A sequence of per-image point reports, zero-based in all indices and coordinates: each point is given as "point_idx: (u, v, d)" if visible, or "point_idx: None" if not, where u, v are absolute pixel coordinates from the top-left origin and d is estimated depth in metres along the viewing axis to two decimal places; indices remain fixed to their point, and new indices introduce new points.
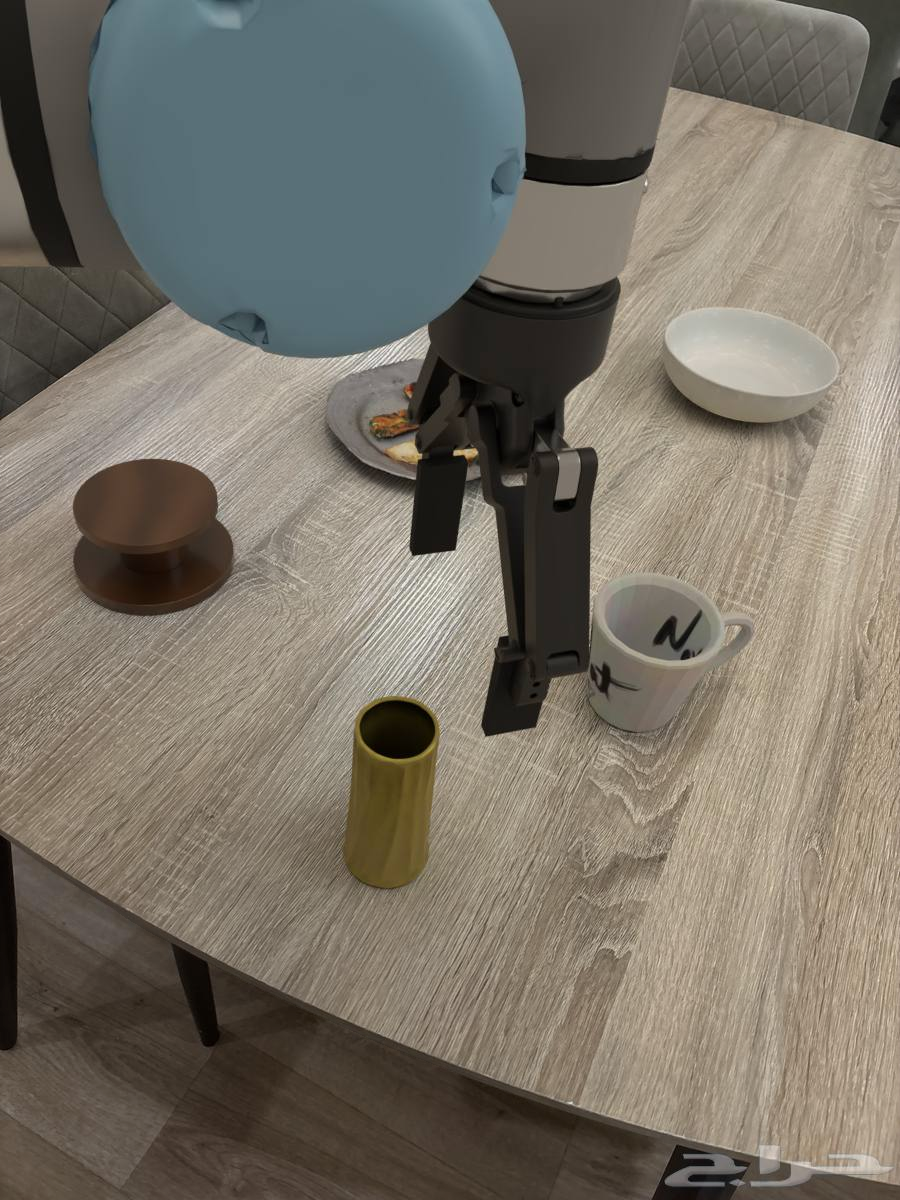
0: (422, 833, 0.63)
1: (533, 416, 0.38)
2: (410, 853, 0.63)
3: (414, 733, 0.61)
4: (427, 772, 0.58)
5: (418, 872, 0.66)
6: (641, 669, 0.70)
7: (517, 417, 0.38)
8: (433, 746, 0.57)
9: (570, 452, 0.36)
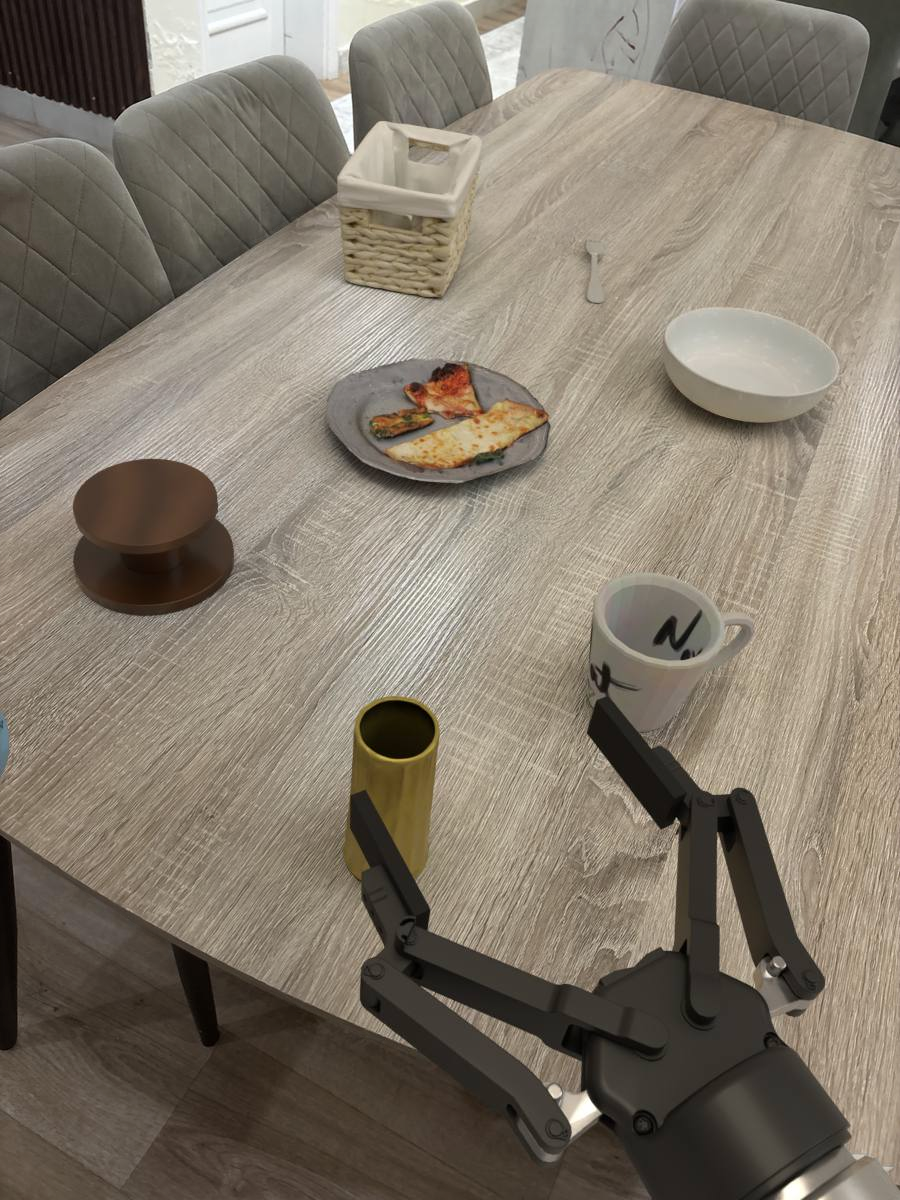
0: (422, 833, 0.63)
1: (616, 1120, 0.34)
2: (410, 853, 0.63)
3: (414, 733, 0.61)
4: (427, 772, 0.58)
5: (418, 872, 0.66)
6: (641, 669, 0.70)
7: (623, 1107, 0.34)
8: (433, 746, 0.57)
9: (557, 1158, 0.34)
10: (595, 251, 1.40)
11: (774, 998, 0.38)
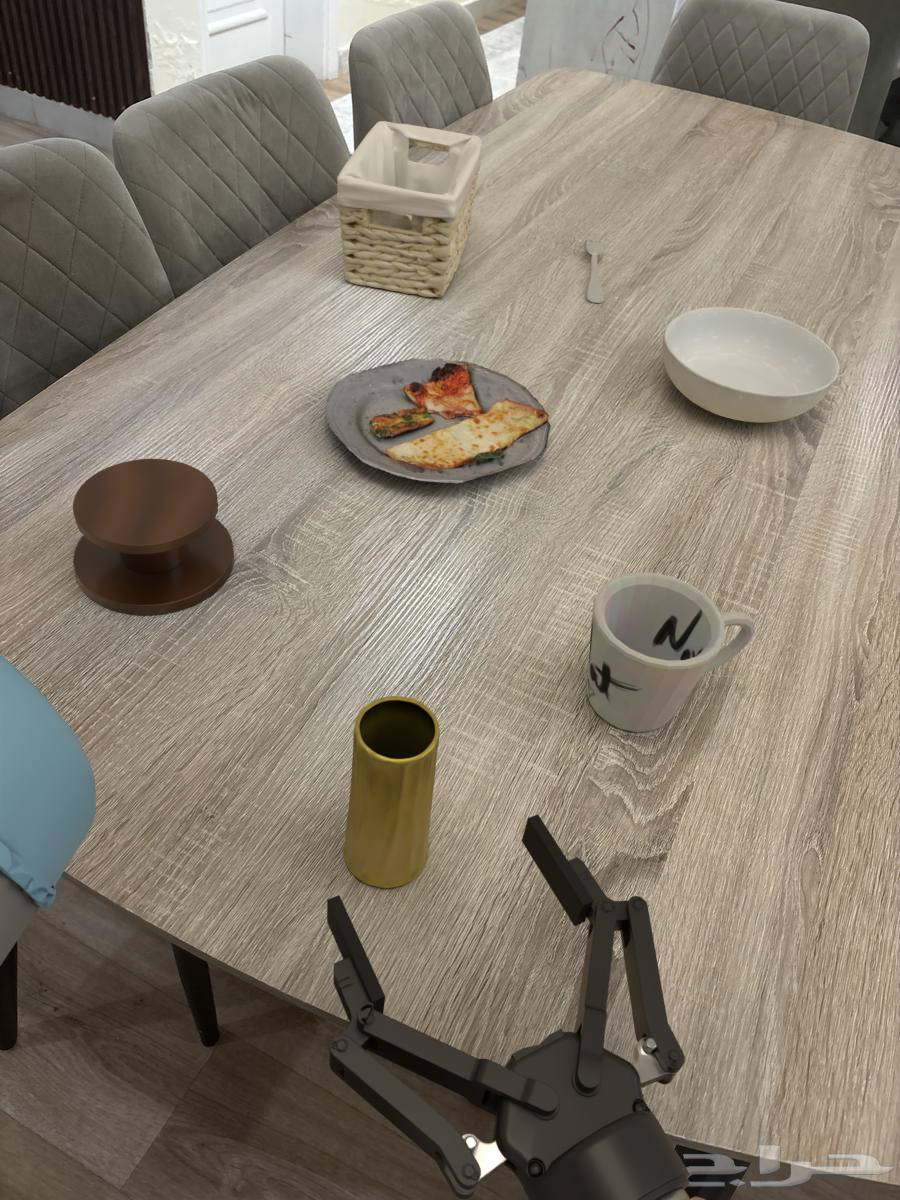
0: (422, 833, 0.63)
1: None
2: (410, 853, 0.63)
3: (414, 733, 0.61)
4: (427, 772, 0.58)
5: (418, 872, 0.66)
6: (641, 669, 0.70)
7: (521, 1155, 0.46)
8: (433, 746, 0.57)
9: (470, 1192, 0.46)
10: (595, 251, 1.40)
11: (646, 1071, 0.50)
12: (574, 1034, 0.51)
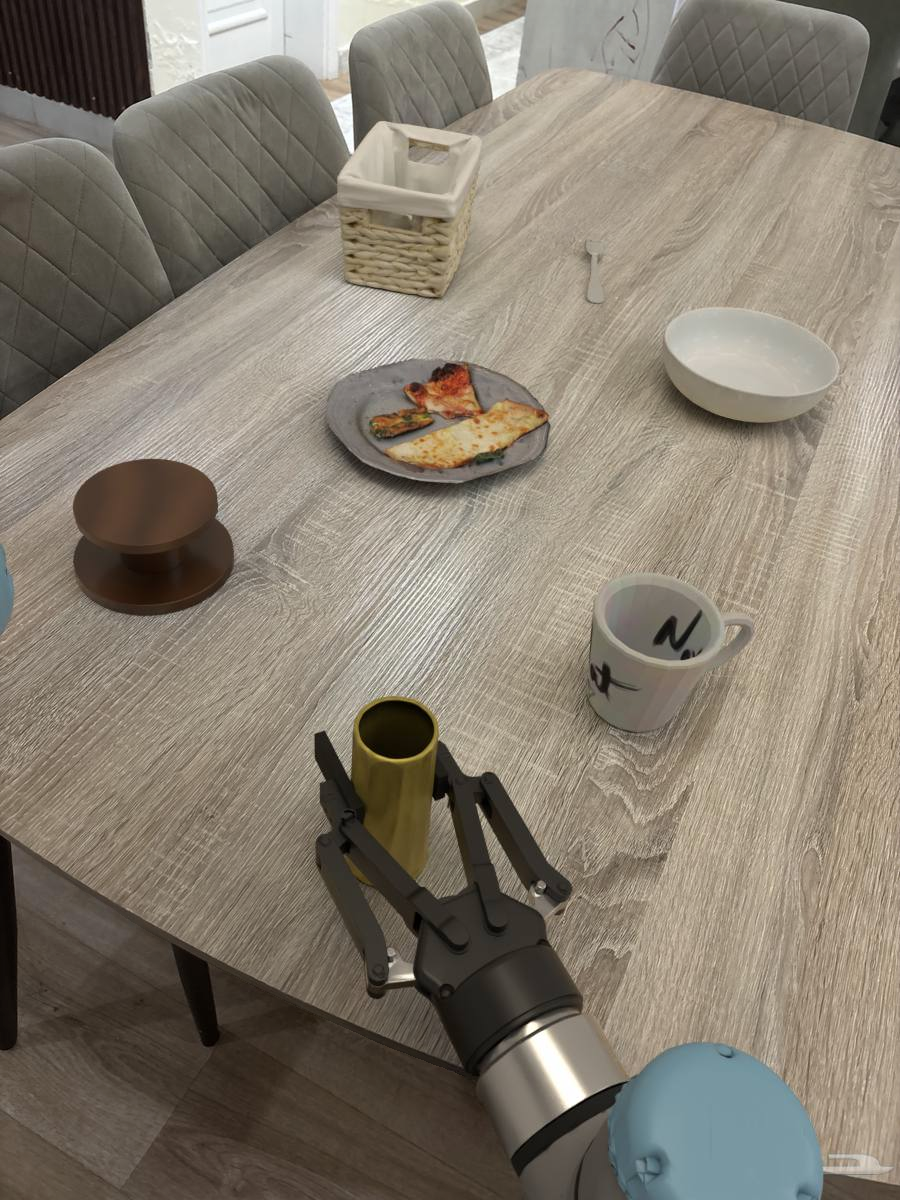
0: (422, 833, 0.63)
1: (430, 991, 0.52)
2: (410, 853, 0.63)
3: (413, 733, 0.61)
4: (426, 772, 0.58)
5: (418, 872, 0.66)
6: (641, 669, 0.70)
7: (427, 980, 0.52)
8: (432, 746, 0.57)
9: (376, 991, 0.52)
10: (595, 251, 1.40)
11: (544, 909, 0.56)
12: (472, 892, 0.56)
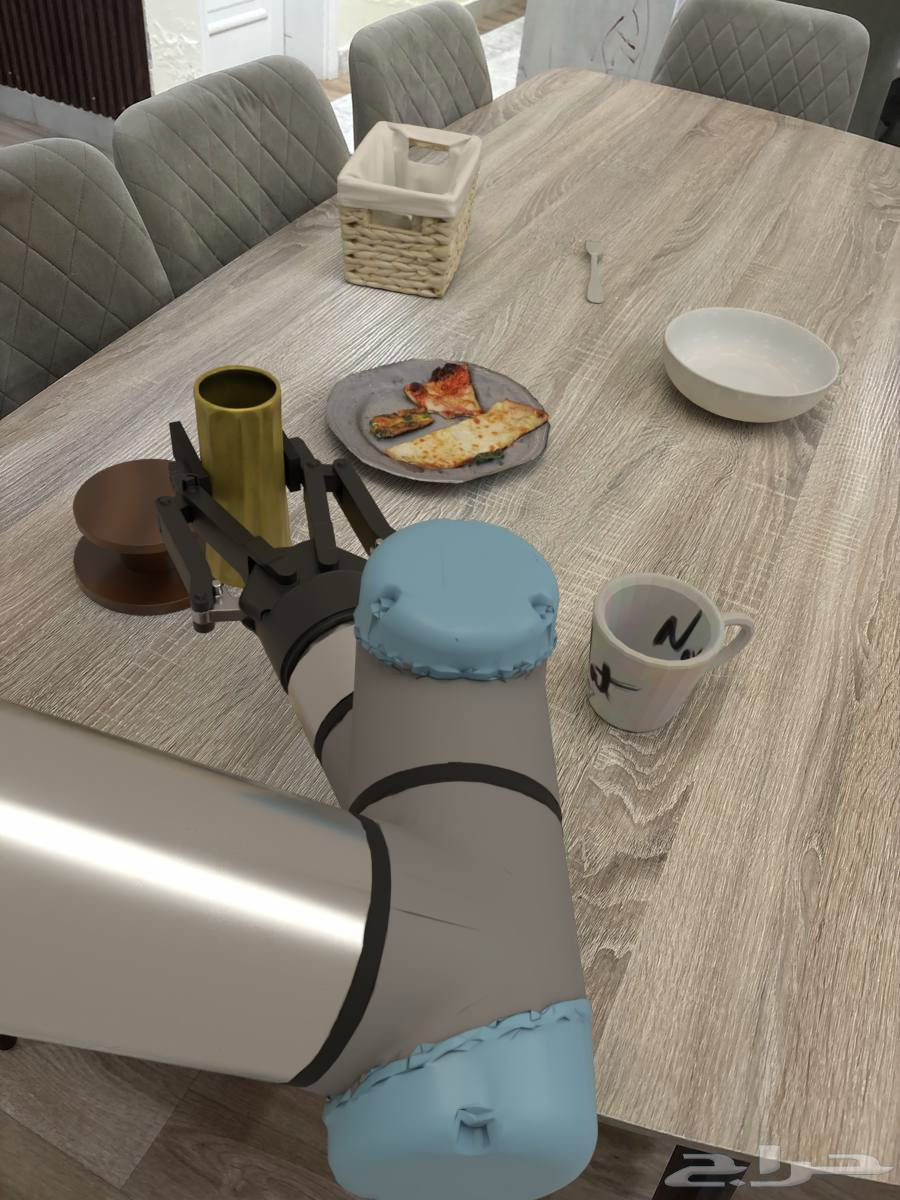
0: (277, 523, 0.63)
1: None
2: None
3: None
4: (269, 435, 0.58)
5: None
6: (641, 669, 0.70)
7: (249, 606, 0.52)
8: (271, 401, 0.56)
9: (200, 620, 0.52)
10: (595, 251, 1.40)
11: None
12: None
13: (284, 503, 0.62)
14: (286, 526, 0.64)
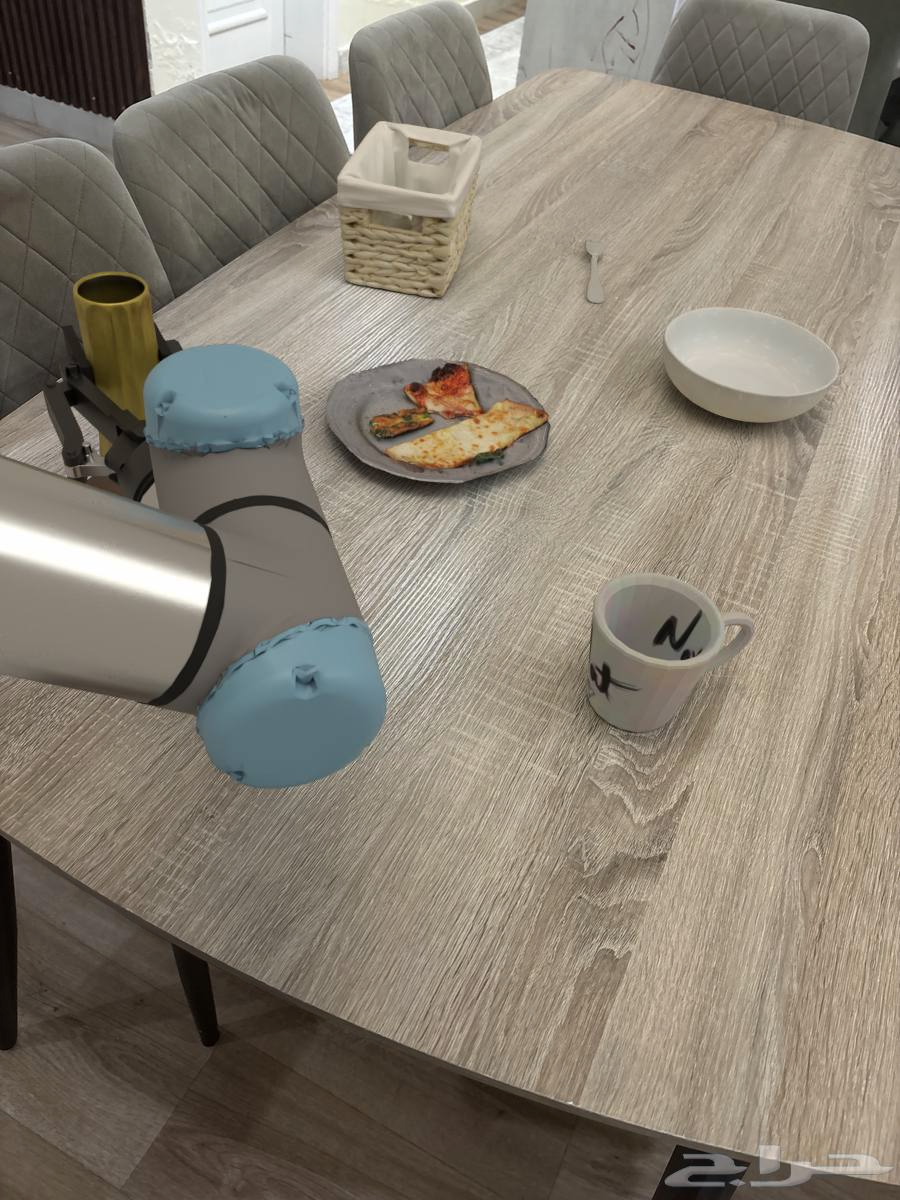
0: None
1: (115, 471, 0.62)
2: None
3: None
4: (138, 329, 0.68)
5: None
6: (641, 669, 0.70)
7: (111, 461, 0.62)
8: (138, 298, 0.67)
9: (72, 474, 0.63)
10: (595, 251, 1.40)
11: None
12: None
13: None
14: None
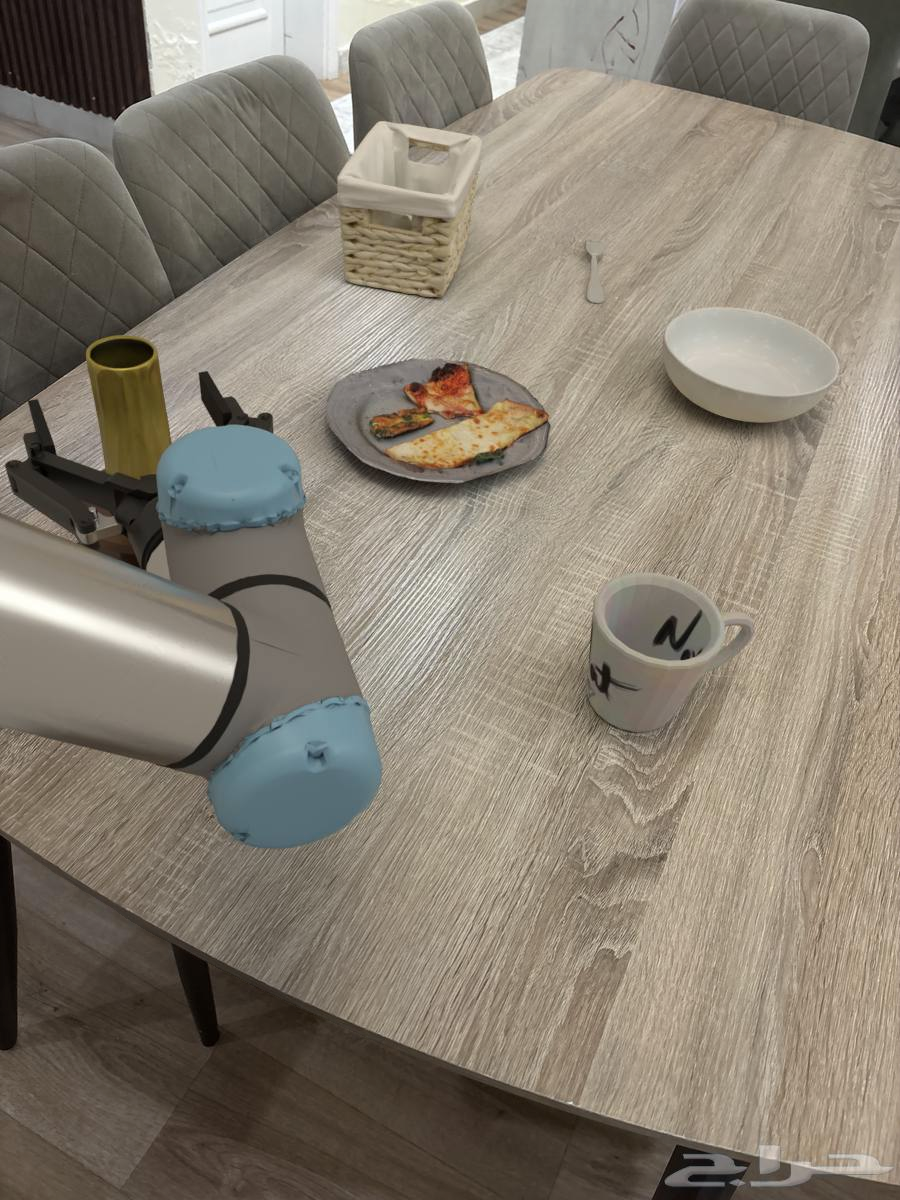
0: None
1: None
2: None
3: None
4: (148, 391, 0.72)
5: None
6: (641, 669, 0.70)
7: (127, 517, 0.66)
8: (147, 363, 0.71)
9: (90, 540, 0.65)
10: (595, 251, 1.40)
11: None
12: None
13: None
14: None
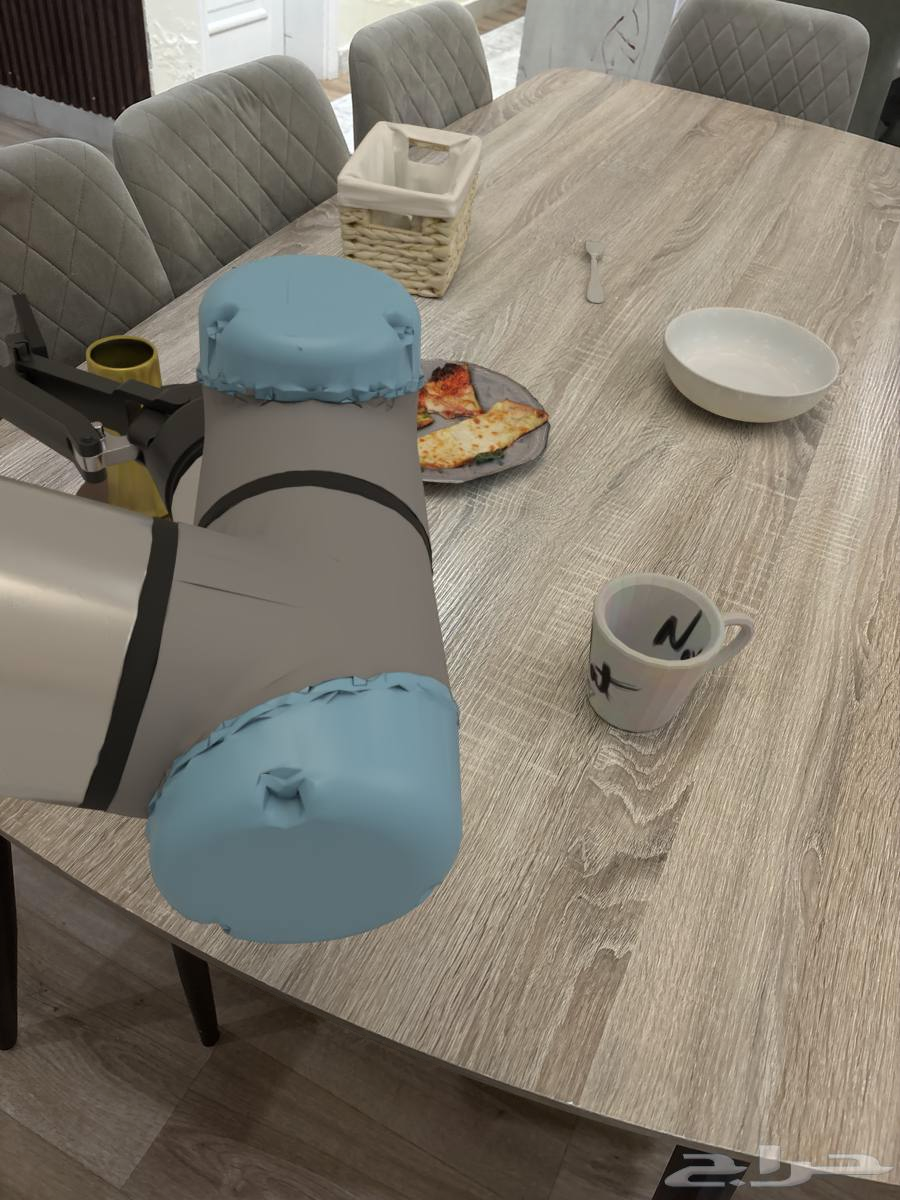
0: None
1: None
2: (153, 482, 0.77)
3: None
4: None
5: None
6: (641, 669, 0.70)
7: (144, 436, 0.48)
8: (147, 363, 0.71)
9: (94, 467, 0.48)
10: (595, 251, 1.40)
11: None
12: None
13: None
14: None
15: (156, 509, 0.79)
